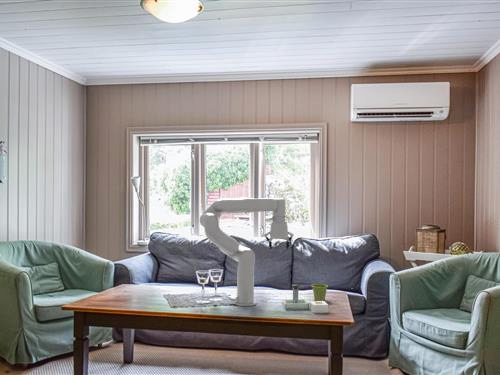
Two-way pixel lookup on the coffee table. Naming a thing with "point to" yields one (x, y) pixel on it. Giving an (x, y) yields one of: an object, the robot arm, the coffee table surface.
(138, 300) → the coffee table surface
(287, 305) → the tray
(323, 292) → the plant pot
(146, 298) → the coffee table surface
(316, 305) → the socket block
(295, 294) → the pin
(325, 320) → the coffee table surface
